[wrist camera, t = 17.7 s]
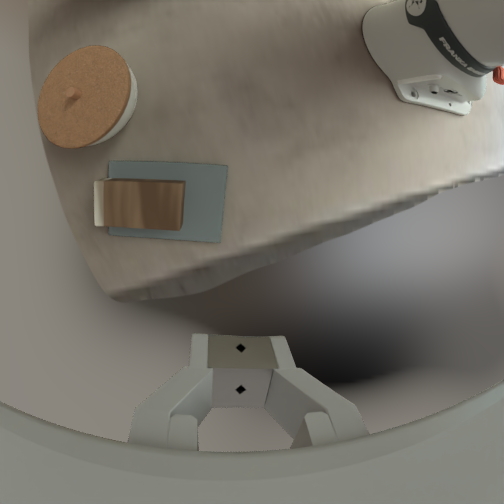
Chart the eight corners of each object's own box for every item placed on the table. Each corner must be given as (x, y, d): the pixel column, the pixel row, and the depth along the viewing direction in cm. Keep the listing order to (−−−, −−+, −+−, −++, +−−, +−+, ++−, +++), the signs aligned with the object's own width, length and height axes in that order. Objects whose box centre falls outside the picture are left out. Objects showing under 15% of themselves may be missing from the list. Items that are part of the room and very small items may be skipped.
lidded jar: (139, 51, 24) (113, 22, 15) (157, 128, 28) (134, 120, 19) (64, 87, 24) (23, 74, 15) (80, 160, 28) (38, 167, 19)
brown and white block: (182, 183, 27) (94, 181, 26) (179, 230, 29) (94, 225, 27) (185, 180, 30) (104, 178, 28) (183, 223, 32) (104, 219, 30)
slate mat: (227, 165, 31) (227, 166, 30) (220, 240, 34) (220, 242, 33) (111, 160, 29) (109, 161, 28) (110, 233, 32) (108, 235, 31)
